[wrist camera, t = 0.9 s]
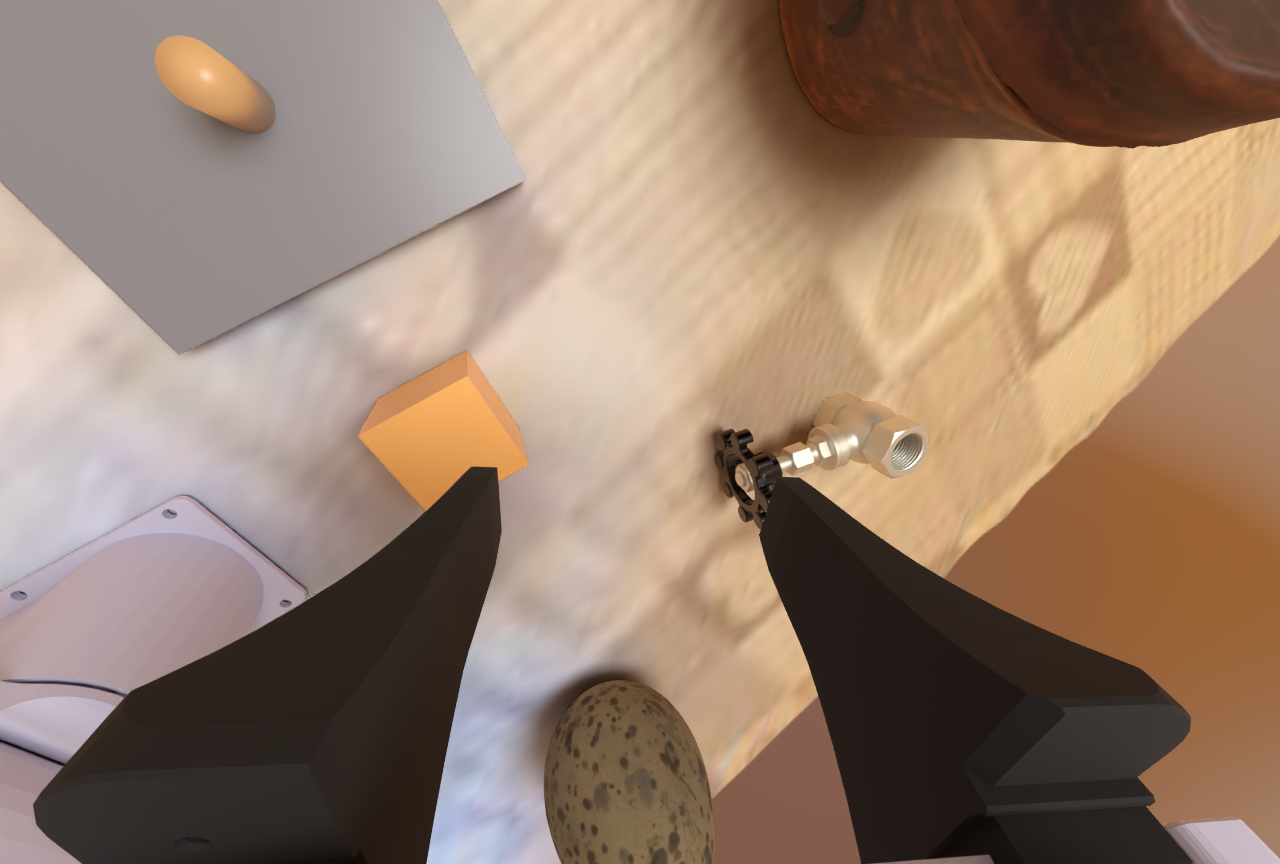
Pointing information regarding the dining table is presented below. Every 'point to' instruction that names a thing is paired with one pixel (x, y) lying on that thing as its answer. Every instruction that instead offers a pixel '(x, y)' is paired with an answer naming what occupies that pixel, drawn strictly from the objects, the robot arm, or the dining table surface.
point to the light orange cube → (443, 430)
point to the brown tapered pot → (1038, 67)
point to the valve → (822, 450)
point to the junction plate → (239, 143)
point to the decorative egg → (627, 781)
